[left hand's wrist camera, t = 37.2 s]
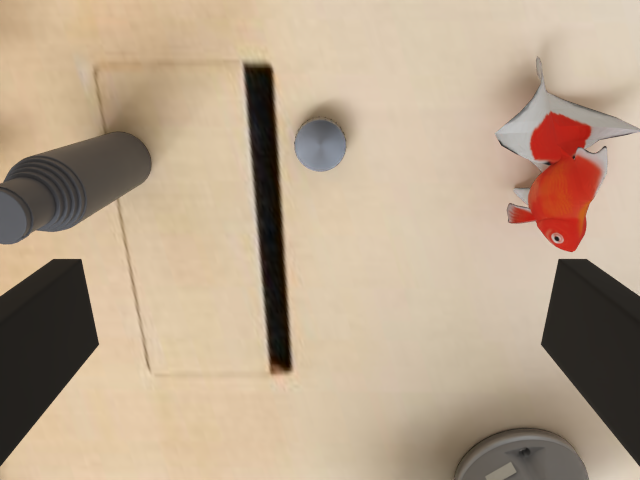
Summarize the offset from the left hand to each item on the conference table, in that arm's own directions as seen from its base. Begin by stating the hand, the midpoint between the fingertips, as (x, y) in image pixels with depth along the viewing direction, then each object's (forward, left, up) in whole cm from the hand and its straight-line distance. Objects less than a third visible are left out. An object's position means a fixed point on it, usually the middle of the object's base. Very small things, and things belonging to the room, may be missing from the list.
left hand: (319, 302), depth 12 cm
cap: (0, 0, -28) cm, 28 cm away
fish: (-16, -11, -30) cm, 36 cm away
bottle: (+14, +12, -30) cm, 35 cm away
